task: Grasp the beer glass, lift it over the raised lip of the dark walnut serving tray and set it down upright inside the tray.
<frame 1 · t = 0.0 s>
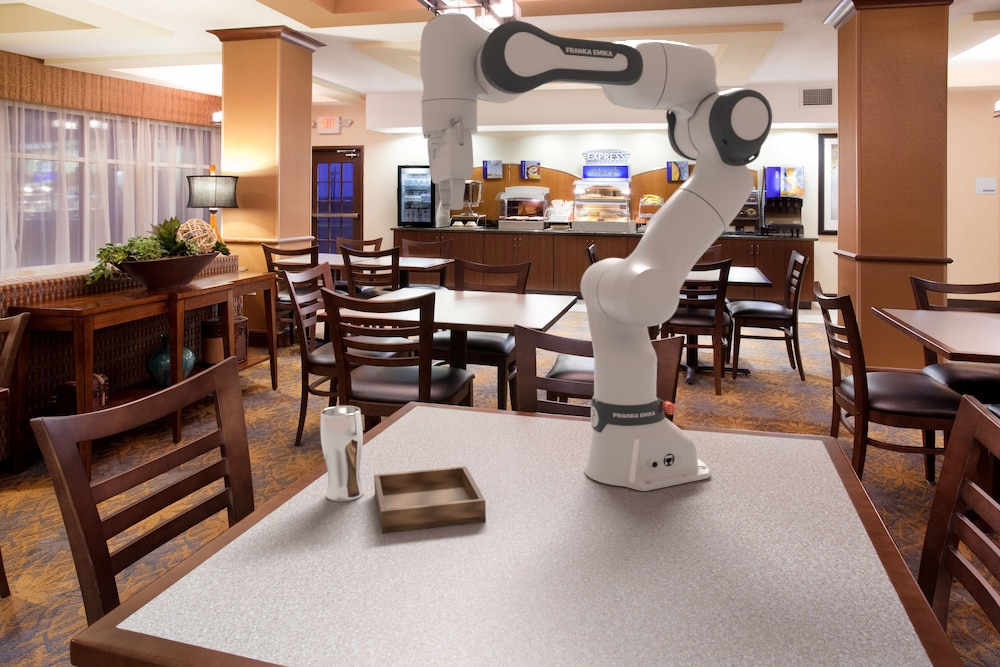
hand: (451, 209, 117), 48 cm above the table, fingers open, 8 cm apart
walnut tray: (427, 507, 118), on the table
beer glass: (345, 496, 124), on the table
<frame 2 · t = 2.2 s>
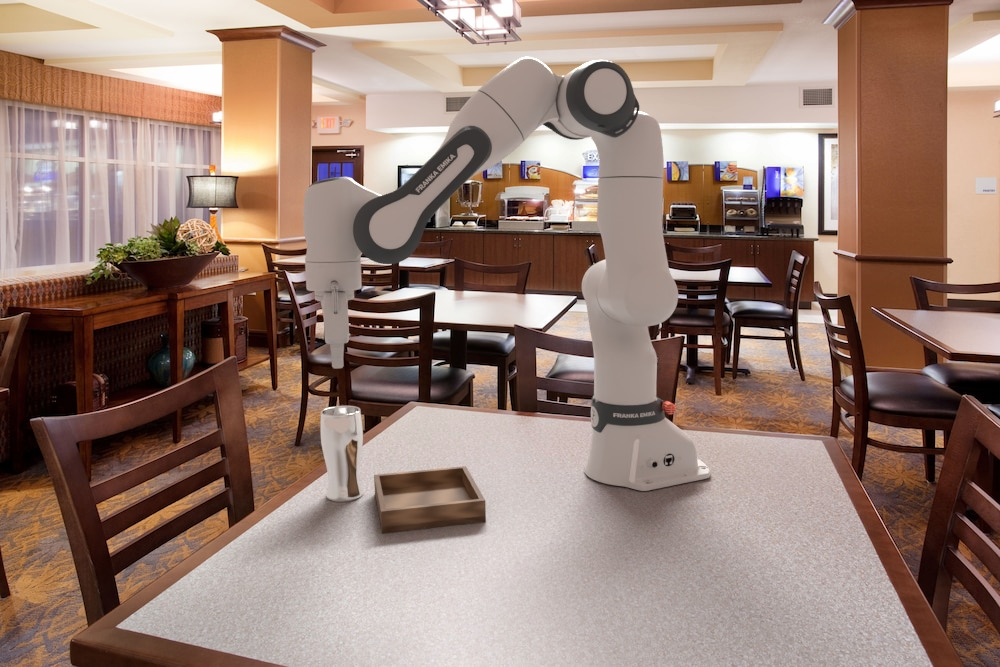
hand: (337, 361, 120), 23 cm above the table, fingers open, 8 cm apart
nothing on the table moved.
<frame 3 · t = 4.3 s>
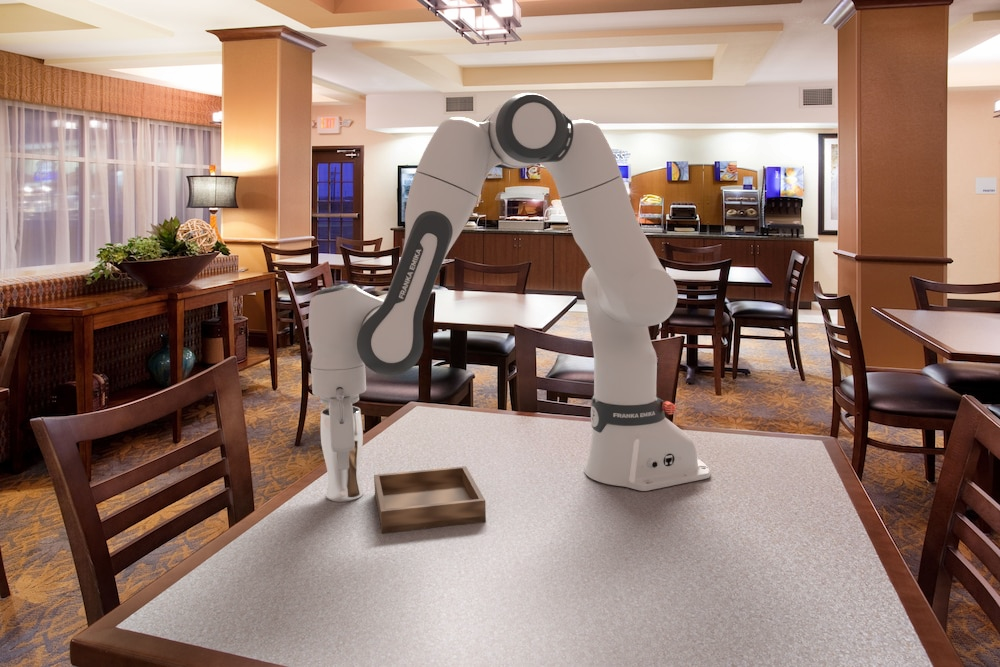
hand: (343, 460, 123), 6 cm above the table, fingers closed on beer glass, 6 cm apart
beer glass: (345, 496, 124), on the table, touching gripper
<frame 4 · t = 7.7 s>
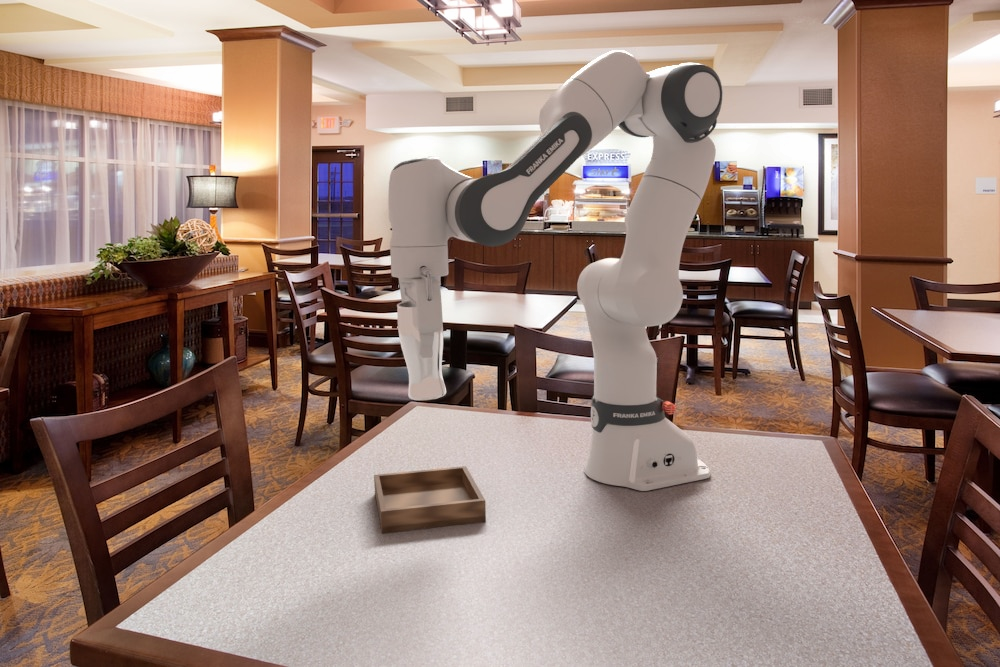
hand: (423, 352, 114), 26 cm above the table, fingers closed on beer glass, 6 cm apart
beer glass: (427, 395, 116), point 19 cm above the table, touching gripper
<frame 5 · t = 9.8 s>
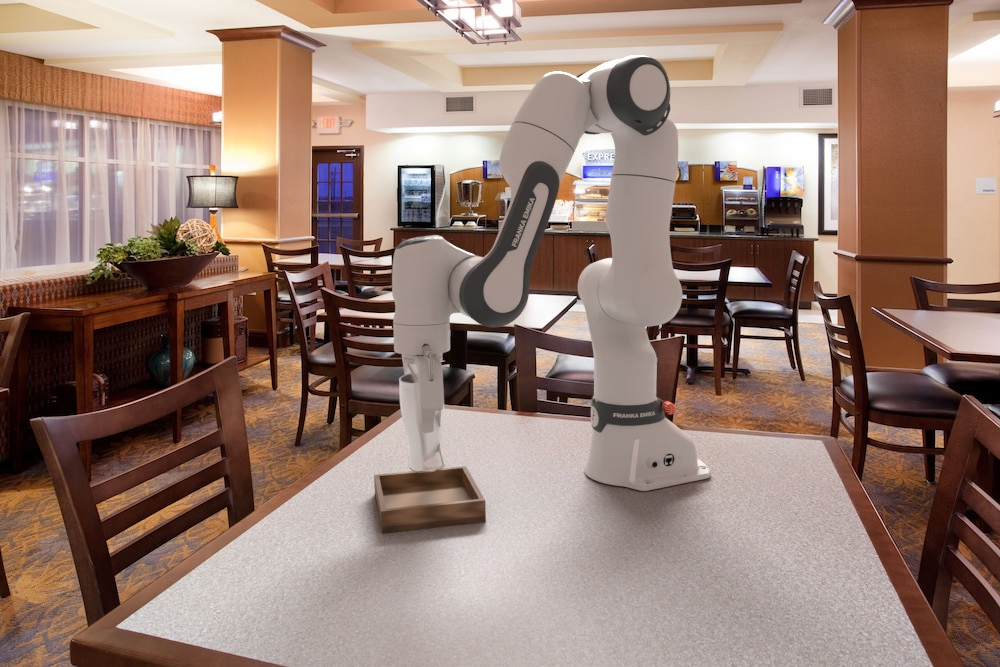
hand: (424, 424, 116), 14 cm above the table, fingers closed on beer glass, 6 cm apart
beer glass: (428, 466, 117), point 7 cm above the table, touching gripper
when the fingers open (8 cm above the table, at t = 11.6 s): beer glass stays where it is, resting on walnut tray.
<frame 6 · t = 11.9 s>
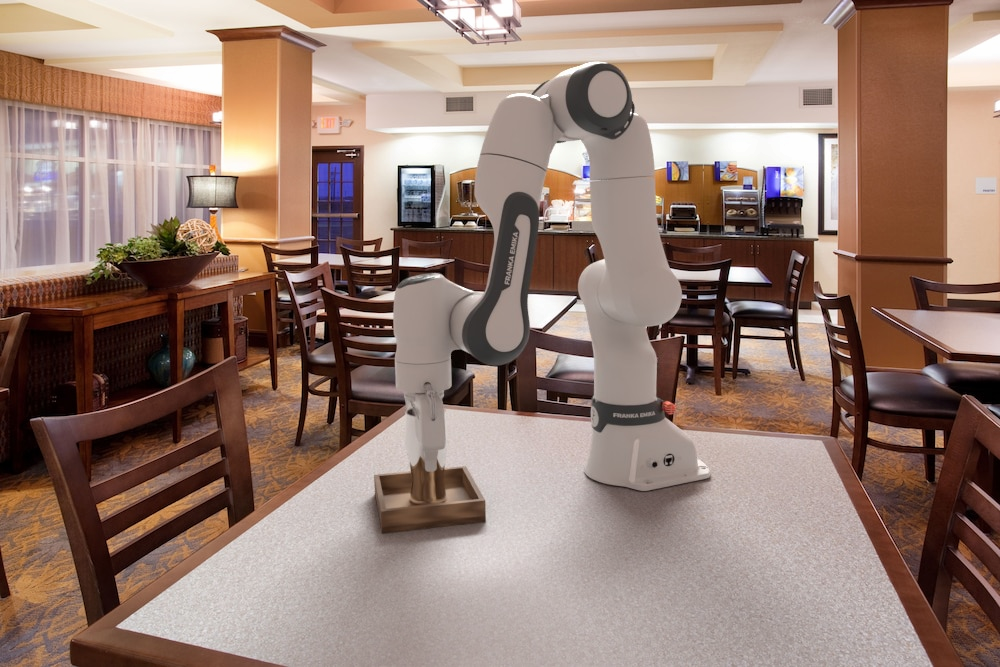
hand: (426, 460, 117), 8 cm above the table, fingers open, 8 cm apart
beer glass: (428, 499, 119), point 1 cm above the table, touching gripper, walnut tray
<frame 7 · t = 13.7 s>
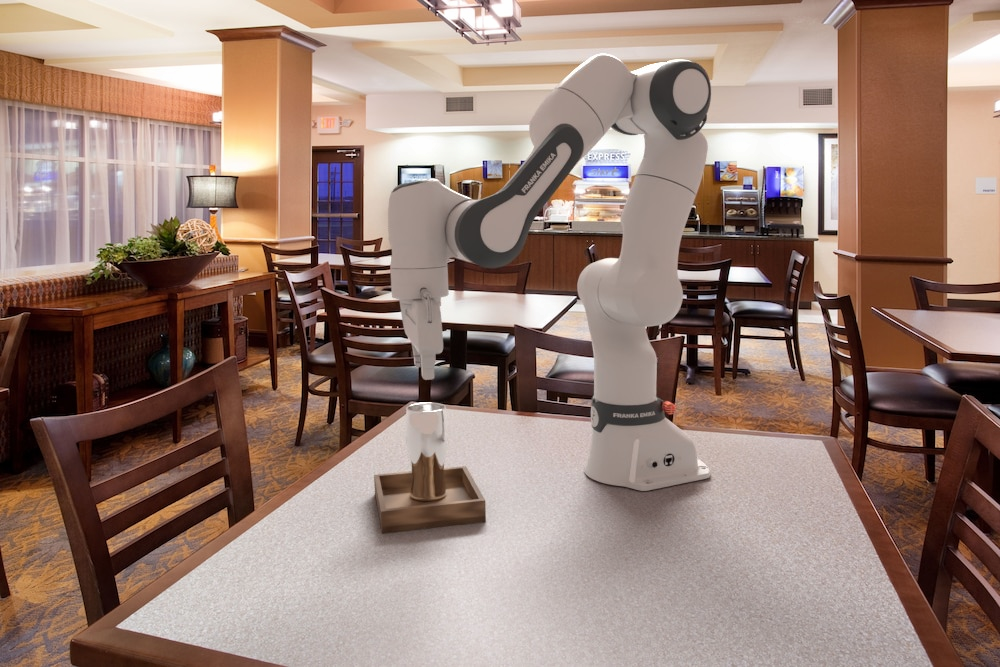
hand: (424, 372, 114), 23 cm above the table, fingers open, 8 cm apart
beer glass: (428, 495, 121), point 1 cm above the table, touching walnut tray
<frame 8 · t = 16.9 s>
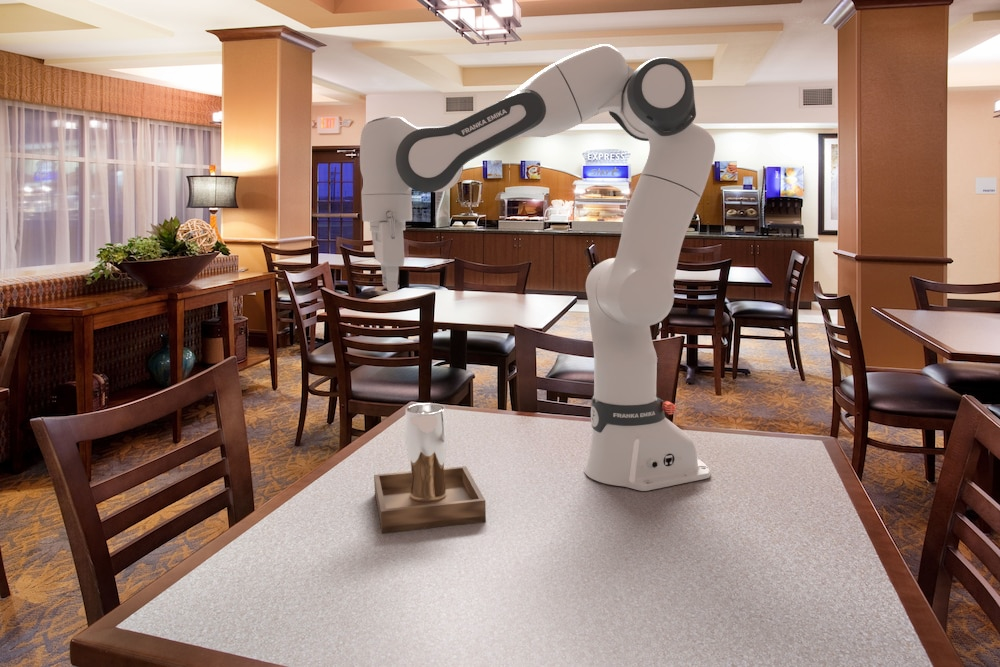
hand: (390, 288, 131), 34 cm above the table, fingers open, 8 cm apart
nothing on the table moved.
at the end: beer glass inside the target area on the walnut tray (2.7 cm from its centre), point 0.8 cm above the walnut tray's base; beer glass tilted 0°; the gripper is holding nothing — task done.
